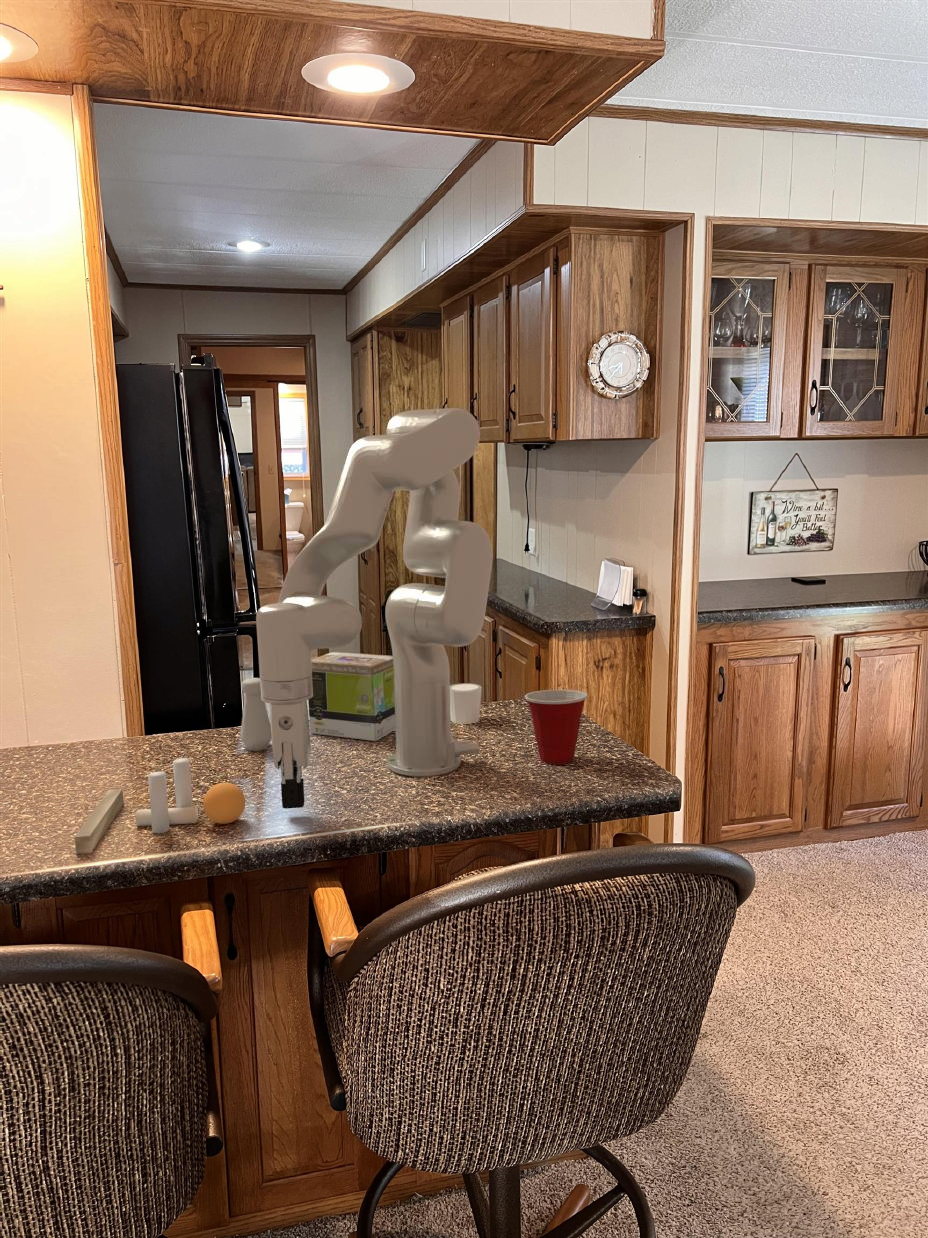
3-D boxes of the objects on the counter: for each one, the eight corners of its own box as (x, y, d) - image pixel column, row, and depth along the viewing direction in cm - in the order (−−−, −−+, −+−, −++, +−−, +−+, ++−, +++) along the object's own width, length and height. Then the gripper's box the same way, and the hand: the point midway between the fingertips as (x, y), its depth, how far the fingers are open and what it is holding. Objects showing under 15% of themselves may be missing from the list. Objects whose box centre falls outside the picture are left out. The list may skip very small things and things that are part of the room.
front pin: (197, 805, 138) (139, 808, 138) (194, 808, 136) (135, 811, 135) (198, 821, 138) (140, 824, 138) (194, 825, 136) (136, 828, 135)
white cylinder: (447, 716, 188) (446, 683, 187) (480, 715, 189) (479, 682, 187) (449, 726, 181) (448, 692, 180) (484, 725, 182) (483, 690, 181)
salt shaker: (265, 753, 168) (261, 683, 165) (236, 751, 169) (231, 682, 166) (278, 743, 173) (274, 676, 171) (249, 741, 174) (245, 675, 172)
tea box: (401, 728, 181) (398, 654, 178) (375, 743, 172) (372, 666, 169) (336, 720, 187) (332, 649, 185) (308, 734, 178) (304, 660, 176)
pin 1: (170, 826, 136) (167, 771, 134) (167, 833, 133) (163, 776, 132) (154, 827, 135) (150, 772, 134) (150, 834, 133) (146, 777, 131)
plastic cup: (571, 746, 168) (571, 682, 166) (598, 765, 158) (598, 697, 155) (515, 753, 164) (515, 688, 162) (539, 773, 154) (539, 704, 152)
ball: (196, 797, 138) (230, 817, 140) (193, 819, 133) (228, 838, 135) (220, 768, 137) (253, 788, 140) (218, 788, 132) (252, 808, 134)
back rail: (123, 804, 145) (122, 789, 144) (91, 853, 127) (89, 836, 127) (110, 804, 144) (109, 789, 144) (76, 854, 127) (74, 837, 126)
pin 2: (194, 811, 141) (190, 758, 140) (192, 817, 139) (187, 763, 137) (178, 812, 141) (174, 759, 139) (175, 818, 139) (171, 764, 137)
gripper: (310, 700, 128) (316, 824, 132) (314, 674, 143) (320, 786, 146) (255, 702, 127) (263, 827, 131) (265, 676, 142) (272, 789, 145)
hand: (293, 805), depth 138 cm, fingers closed
